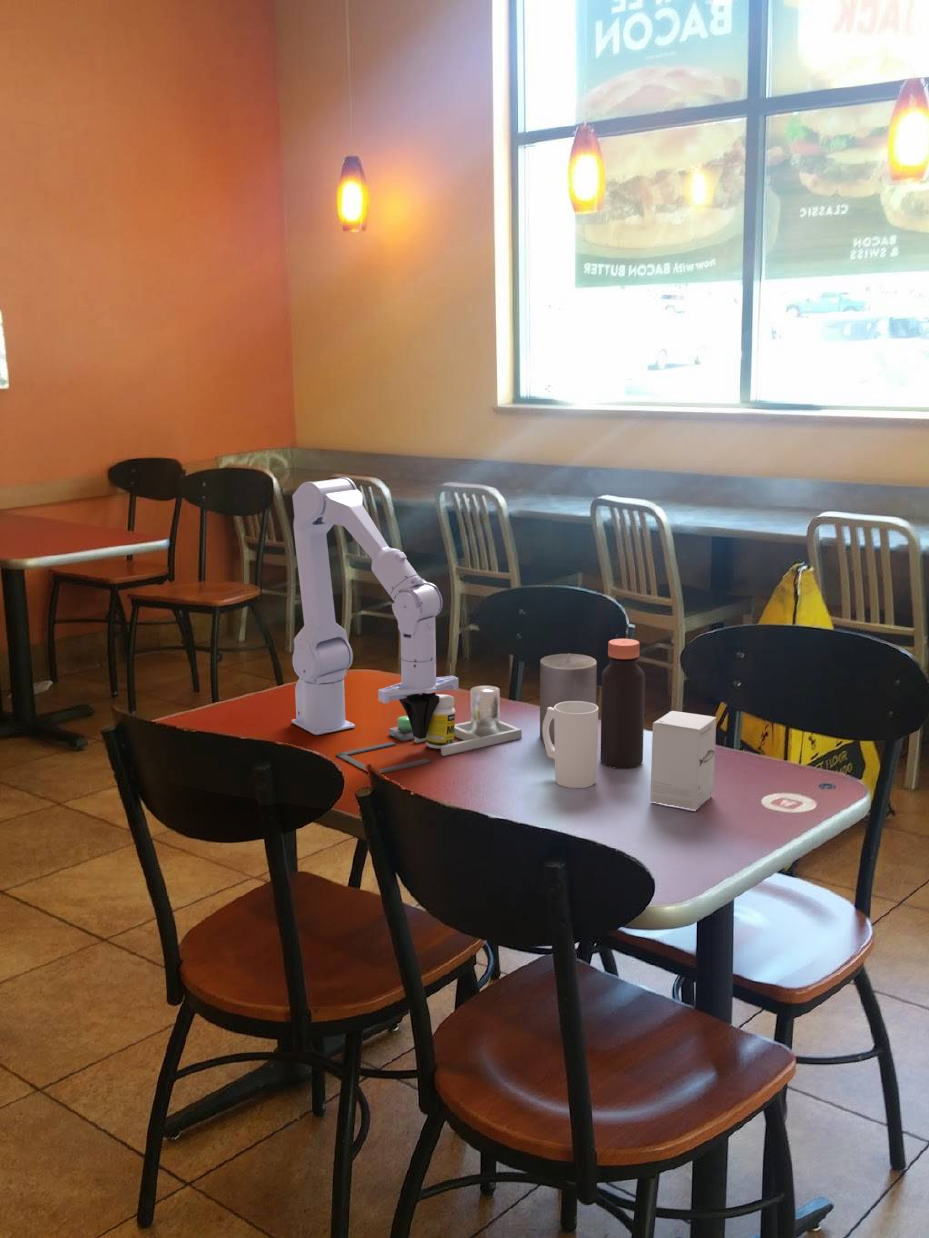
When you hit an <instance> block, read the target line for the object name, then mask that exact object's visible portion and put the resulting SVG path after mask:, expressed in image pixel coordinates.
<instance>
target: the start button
mask: <svg viewBox="0 0 929 1238" xmlns="http://www.w3.org/2000/svg"><path fill="white" fill-rule="evenodd" d="M397 727H398V728H399V729H401V731H403V732H408V731H412V728H411V725H410V721H409V719H408V716H407V715H403V716H399V717H397Z"/></svg>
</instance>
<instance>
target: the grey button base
mask: <svg viewBox="0 0 929 1238" xmlns="http://www.w3.org/2000/svg"><path fill="white" fill-rule="evenodd" d="M388 729H389V730H388V732H389V733H388V735H389V736H390V737H392V738H394V739H396V740H398V741H401V742H407V741H410V740H411V741H412V740H414V736H413V732H412V731H408V732H403V731H401V729H399V728H398V726H394V727H390V728H388Z"/></svg>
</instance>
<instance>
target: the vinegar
mask: <svg viewBox="0 0 929 1238" xmlns="http://www.w3.org/2000/svg"><path fill="white" fill-rule="evenodd" d="M640 644H641V643H640V641H639V640H636V639H632V638H615V639H611V640H609V641H608V643H607V645H608V647H607V655H608V659H609V664H608V665H607V666H606V667H605V668H604V669H603V671H602V672H601V693H600V694H601V695H600V696H601V701H600V702H601V704H600V705H601V706H600V714H601V715H600V762H601V764H603V765H604V764H605V766H606V765H607V766H606V767H609V766H610V768H613V767H615V768H614V769H621V768H622V769H632V768H631V767H634V768H636V766H637V767H639V766H641V765H642V764H641V763H643V761H644V732H645V731H644V730H645V729H644V726H645V725H644V724H645V723H644V722H645V719H644V718H645V685H646V684H645V683H646V679H645V678H646V675H645V674H646V673H645V672H644V670H643V669H642V668H641V667H640V665H638V661H639V659H640V658H639V657H640V646H641V645H640Z"/></svg>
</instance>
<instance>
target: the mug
mask: <svg viewBox="0 0 929 1238" xmlns="http://www.w3.org/2000/svg"><path fill="white" fill-rule="evenodd" d="M599 709H600V708H599V706H598V705H597V704H596V705H595V704H593V703H589V702H583V701H567V702H561V703H558V704H556V705H555V706H554V708H552V707H548V708H547V713H546V715H545V718H544V721H543V728H542V731H543V739H544V741H543V743H544V746H545V751H546V755H547V757H548V758H550V759H553V760H554V779H555V780H554V781H555V782H556V784H557V785H559V786H560V787H564V788H569V789H585V788H588V787H589V786H590V787H592V786H594V785H595V784H594V783H596V779H597V764H598V763H597V762H598V761H597V760H598V758H597V757H598V739H599V738H598V735H599V732H598V731H599V730H598V729H599ZM553 718H554V740H555V745H553V744H552V742H551V739H550V734H549V725H550V722H551V720H552V719H553ZM593 784H594V785H593ZM590 787H589V788H590Z"/></svg>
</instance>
